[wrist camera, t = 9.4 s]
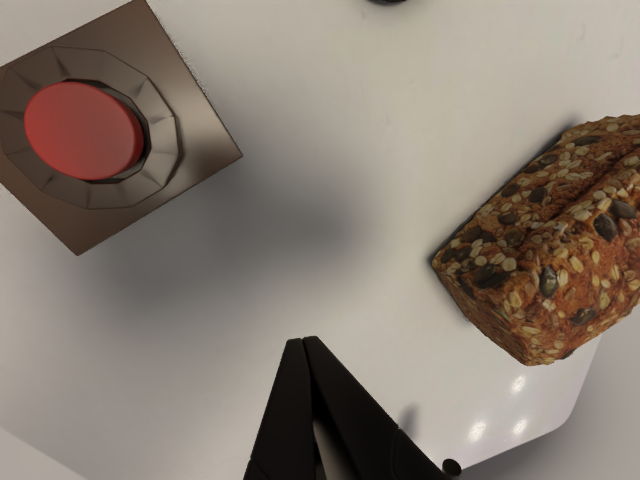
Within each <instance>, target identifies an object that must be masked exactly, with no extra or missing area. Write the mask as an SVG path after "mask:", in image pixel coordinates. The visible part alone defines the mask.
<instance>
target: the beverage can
mask: <svg viewBox="0 0 640 480" xmlns="http://www.w3.org/2000/svg"><path fill="white" fill-rule="evenodd" d="M383 1H387V2H401V1H405V0H383Z"/></svg>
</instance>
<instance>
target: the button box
mask: <svg viewBox="0 0 640 480" xmlns="http://www.w3.org/2000/svg"><path fill="white" fill-rule="evenodd" d="M58 82H79V83H84V84H88V85H91V86H94V87H96V88H98V89H100V90H102V91H104V92H106V93H108V94H110V95H112V96H114V97H116V98H118V99H119V100H121V101H122V102H123V103H124V104H126V105H127V106H128V107H129V108H130V109H131V111H132V112H133V113H134V114H135V116H136V117H137V119H138V121H139V123H140V125H141V128H142V131H143V137H144V145H143V150H142V153H141V156H140V158H139V159H138V161H137V162H136V163H135V165H133V166H132V167H131V168H130V169H128V170H127V171H125V172H123V173H121V174H118V175H115V176H112V177H109V178H106V179H101V180H83V179H77V178H73V177H70V176H67V175H64V174H62V173H60V172H58V171H57V170H55V169H53V168H52V167H50V166H49V165H48V164H46V163H45V162H44V161H43V160H42V159H41V158H40V157H39V156H38V155H37V154H36V152H35V151H34V150H33V148H32V147H31V145H30V143H29V141H28V139H27V136H26V133H25V128H24V113H25V110H26V107H27V104H28V103H29V101H30V99H31V98H32V97H33V95H34V94H36V93H37V92H38V91H39V90H41V89H42V88H44V87H46V86H48V85H51V84H54V83H58ZM241 157H243V154H242V153H241V151H240V149H239V148H238V146H237V145H236V143H235V141H234V140H233V138H232V137H231V135H230V134H229V132H228V130H227V129H226V127H225V126H224V124H223V122H222V121H221V119H220V118H219V116H218V114H217V113H216V111H215V110H214V108H213V107H212V105H211V103H210V102H209V100H208V99H207V97H206V95H205V94H204V92H203V91H202V89H201V87H200V86H199V84H198V83H197V81H196V80H195V78H194V76H193V75H192V73H191V72H190V70H189V68H188V67H187V65H186V64H185V62H184V60H183V59H182V57H181V56H180V54H179V53H178V51H177V49H176V48H175V46H174V45H173V43H172V41H171V40H170V38H169V37H168V35H167V33H166V32H165V30H164V29H163V27H162V26H161V24H160V22H159V21H158V19H157V18H156V16H155V14H154V13H153V11H152V10H151V8H150V6H149V5H148V3H147V2H146V0H132V1H130V2H128V3H126V4H124V5H122V6H120V7H118V8H117V9H115V10H113V11H111V12H109V13H107V14H105V15H103V16H101V17H99V18H97V19H95V20H93V21H91V22H89V23H87V24H85V25H83V26H81V27H79V28H77V29H75V30H73V31H71V32H69V33H67V34H65V35H63V36H61V37H59V38H57V39H55V40H53V41H51V42H49V43H47V44H45V45H43V46H41V47H39V48H37V49H35V50H33V51H31V52H29V53H27V54H25V55H23V56H21V57H19V58H17V59H15V60H13V61H11V62H9V63H7V64H5V65H3V66H1V67H0V183H1V184H2V185H3V186H4V187H5V188H6V189H8V190H9V191H10V192H11V193H12V194H13V195H14V196H15V197H16V198H17V199H18V200H19V201H20V202H21V203H22V204H23V205H24V206H25V207H26V208H27V209H28V210H29V211H30V212H31V213H32V214H33V215H34V216H36V217H37V218H38V219H39V220H40V221H41V222H42V223H43V224H44V225H45V226H46V227H47V228H48V229H49V230H50V231H51V232H52V233H53V234H54V235H55V236H56V237H57V238H58V239H59V240H60V241H61V242H63V243H64V244H65V245H66V246H67V247H68V248H69V249H70V250H71V251H72V252H73V253H74V254H75V255H76V256H79V255H81V254H83V253H84V252H86V251H88V250H89V249H91V248H92V247H94V246H96V245H97V244H99V243H101V242H102V241H104V240H106V239H107V238H109V237H111V236H112V235H114V234H116V233H117V232H119V231H121V230H122V229H124V228H126V227H127V226H129V225H131V224H132V223H134V222H136V221H137V220H139V219H140V218H142V217H144V216H145V215H147V214H149V213H150V212H152V211H154V210H155V209H157V208H159V207H160V206H162V205H164V204H165V203H167V202H169V201H170V200H172V199H174V198H175V197H177V196H179V195H180V194H182V193H183V192H185V191H187V190H188V189H190V188H192V187H193V186H195V185H197V184H198V183H200V182H202V181H203V180H205V179H207V178H208V177H210V176H212V175H213V174H215V173H217V172H218V171H220V170H222V169H223V168H225V167H226V166H228V165H230V164H231V163H233V162H235V161H236V160H238V159H240V158H241Z"/></svg>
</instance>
